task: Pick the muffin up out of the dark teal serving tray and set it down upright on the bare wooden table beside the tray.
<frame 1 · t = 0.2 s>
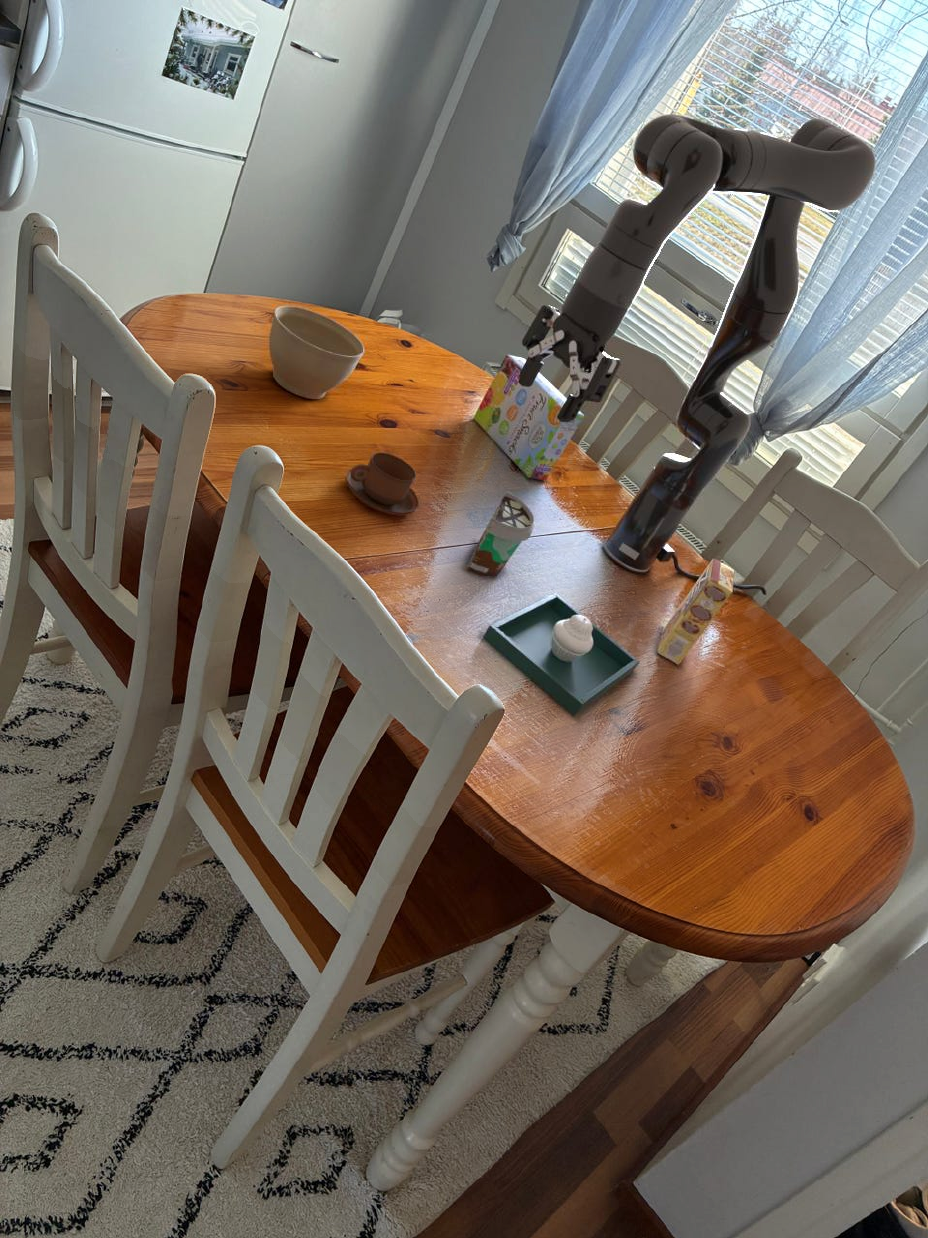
hand: (542, 402, 125), 29 cm above the table, tool pointing down, fingers open, 8 cm apart
candy box: (668, 647, 152), on the table
cup and saucer: (378, 499, 147), on the table
muffin: (560, 655, 135), resting on tray
snack box: (508, 449, 187), on the table
food container: (489, 566, 146), on the table
planter bowl: (298, 386, 166), on the table
tray: (560, 655, 135), on the table
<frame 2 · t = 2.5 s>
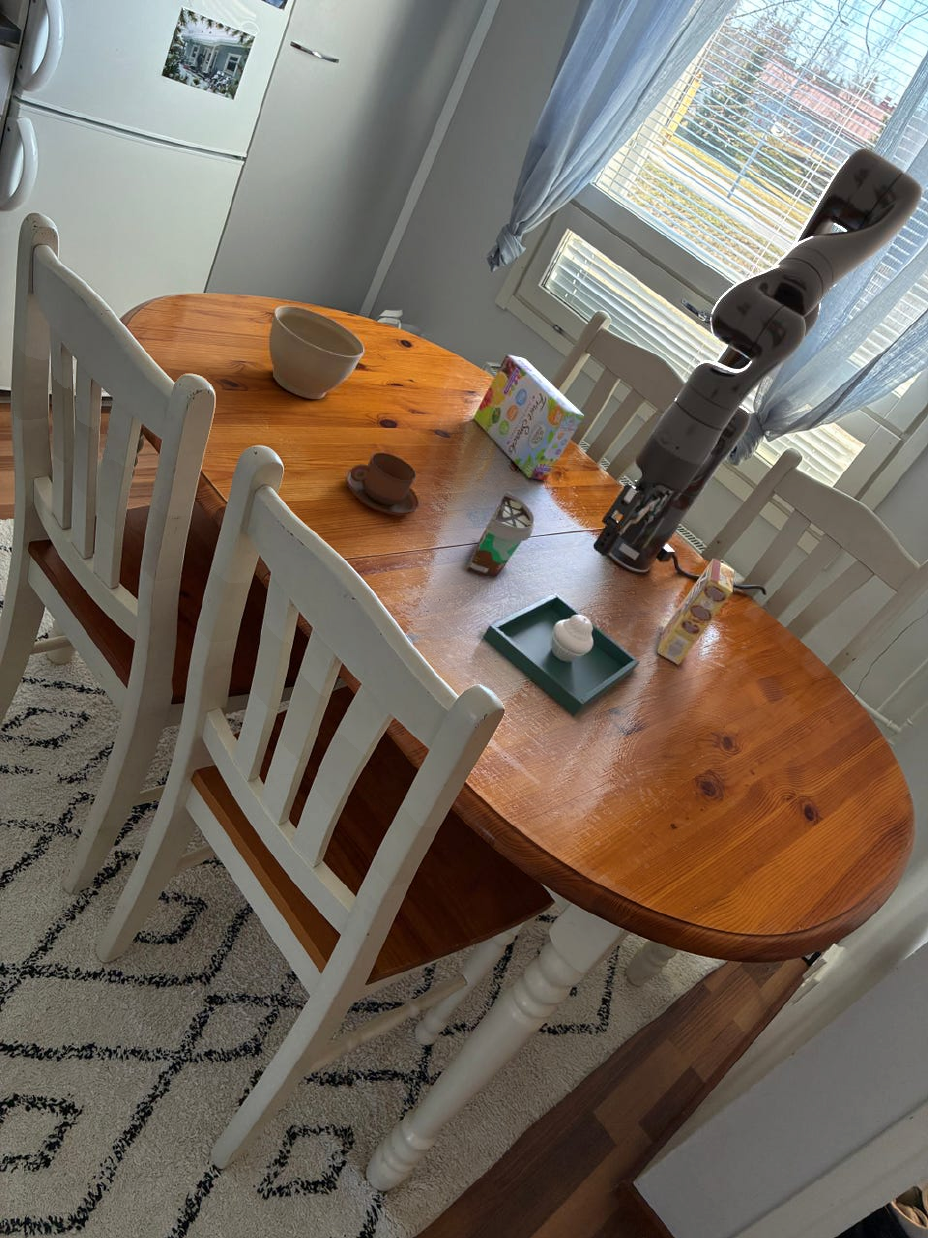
hand: (613, 545, 126), 18 cm above the table, tool pointing down, fingers open, 8 cm apart
nothing on the table moved.
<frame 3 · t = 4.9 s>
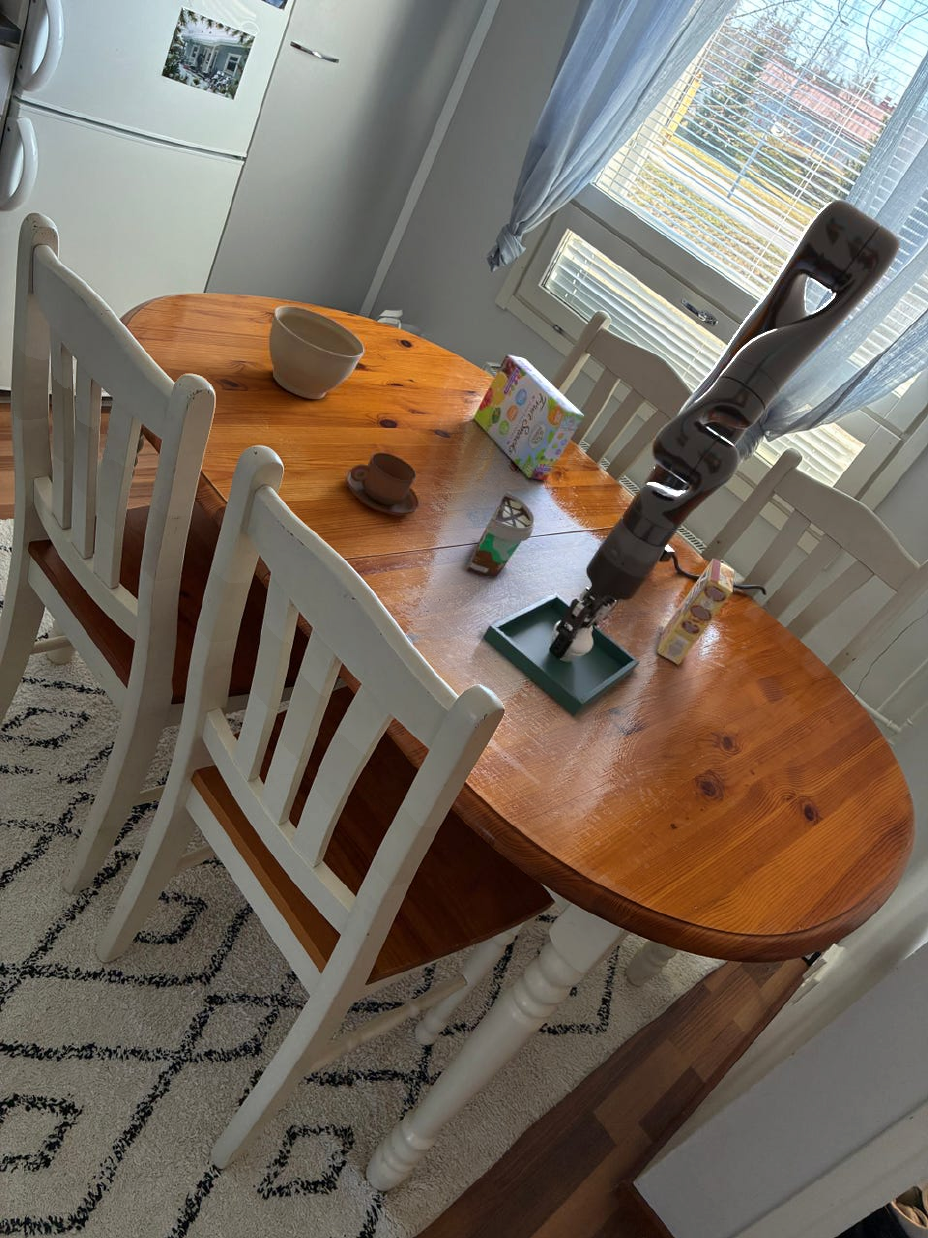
hand: (565, 647, 134), 2 cm above the table, tool pointing down, fingers closed on muffin, 6 cm apart
muffin: (560, 655, 135), resting on tray, touching gripper
everything else where it was.
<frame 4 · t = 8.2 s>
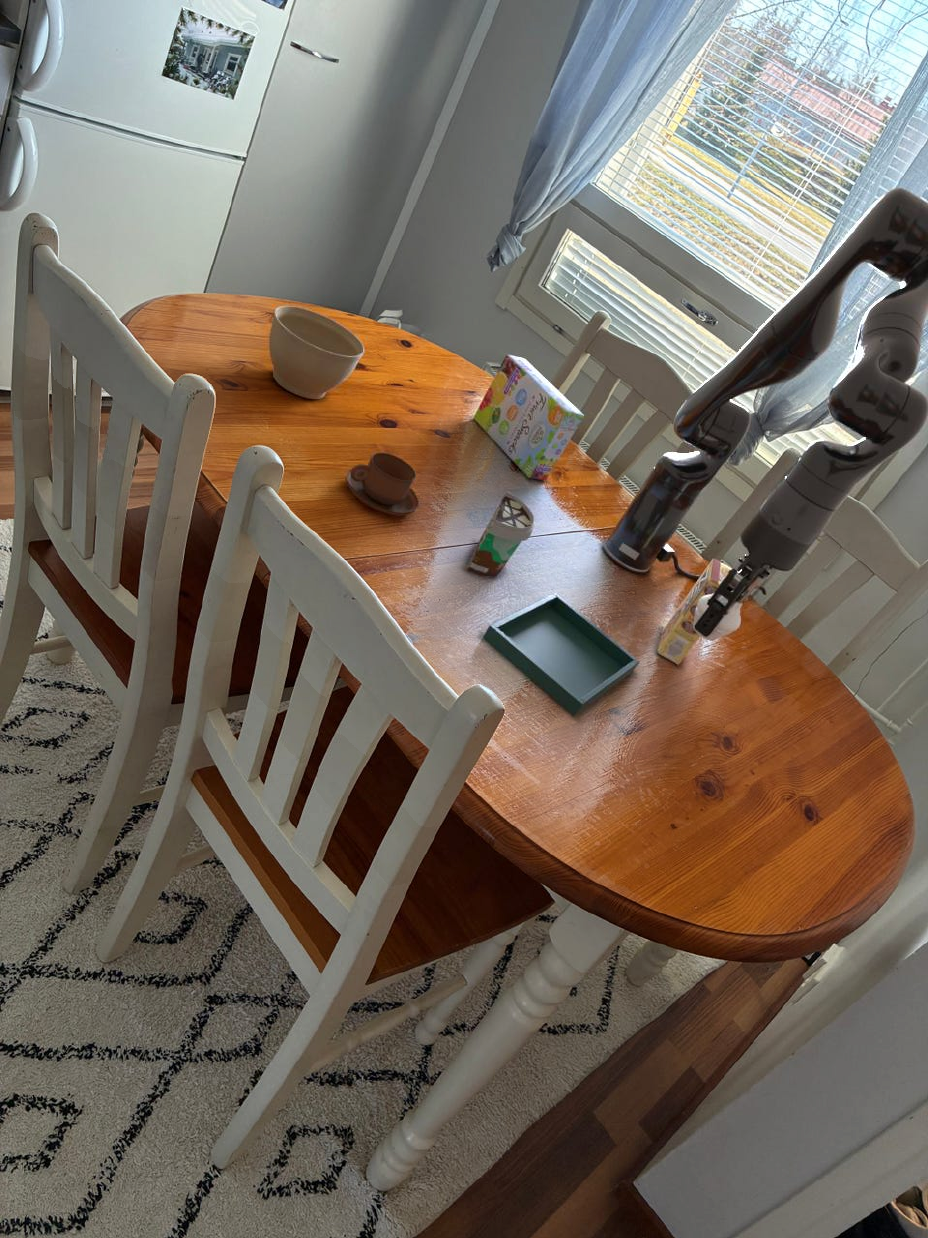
hand: (709, 625, 122), 18 cm above the table, tool pointing down, fingers closed on muffin, 6 cm apart
muffin: (702, 633, 123), point 16 cm above the table, touching gripper
everything else where it was.
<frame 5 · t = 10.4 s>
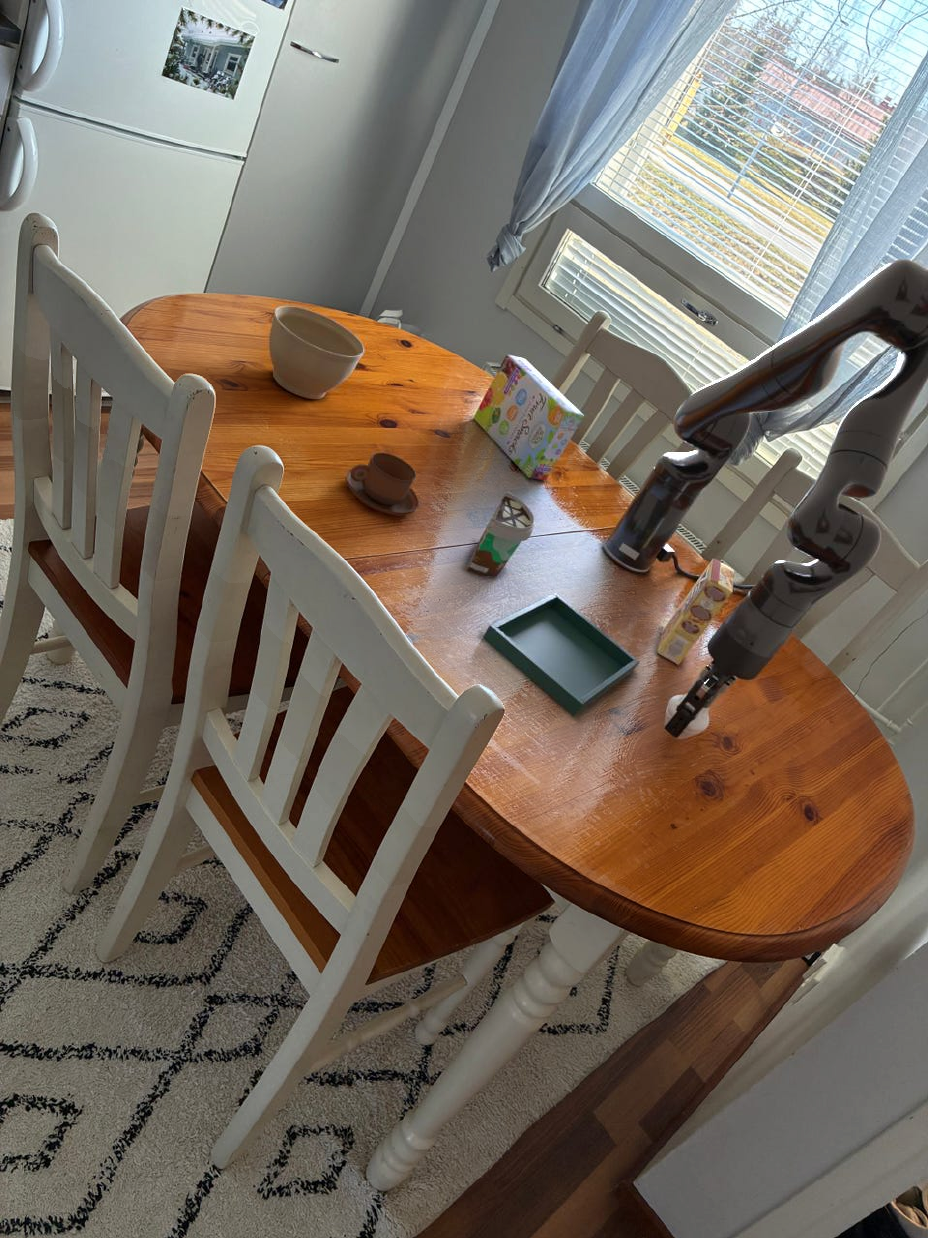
hand: (679, 724, 129), 3 cm above the table, tool pointing down, fingers closed on muffin, 6 cm apart
muffin: (673, 731, 130), point 2 cm above the table, touching gripper
everything else where it was.
when the fingers open (1 cm above the table, at t = 11.6 s): muffin stays where it is, on the table.
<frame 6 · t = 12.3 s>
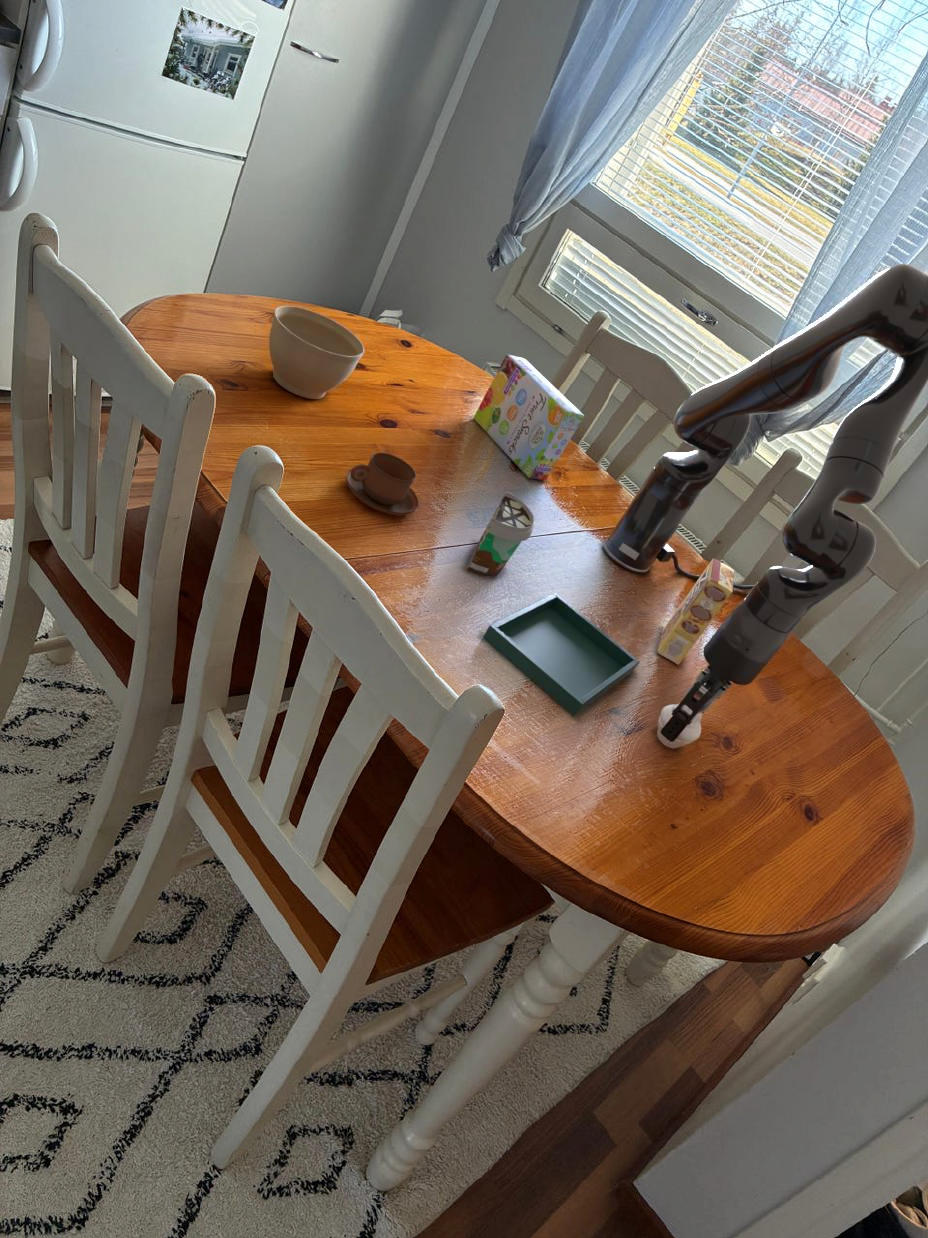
hand: (677, 726, 129), 3 cm above the table, tool pointing down, fingers open, 8 cm apart
muffin: (666, 741, 131), on the table
everything else where it was.
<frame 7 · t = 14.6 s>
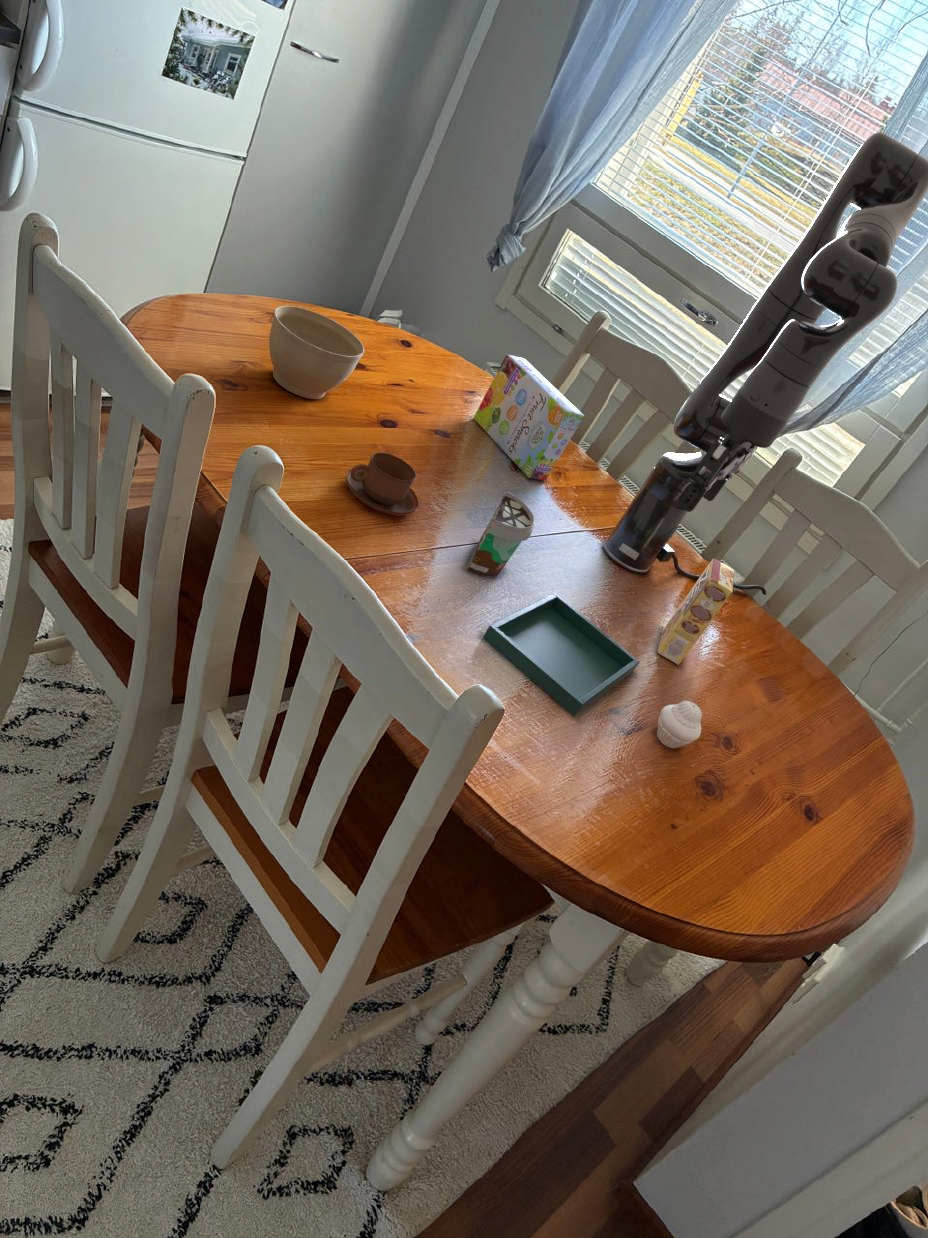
hand: (695, 502, 129), 26 cm above the table, tool pointing down, fingers open, 8 cm apart
nothing on the table moved.
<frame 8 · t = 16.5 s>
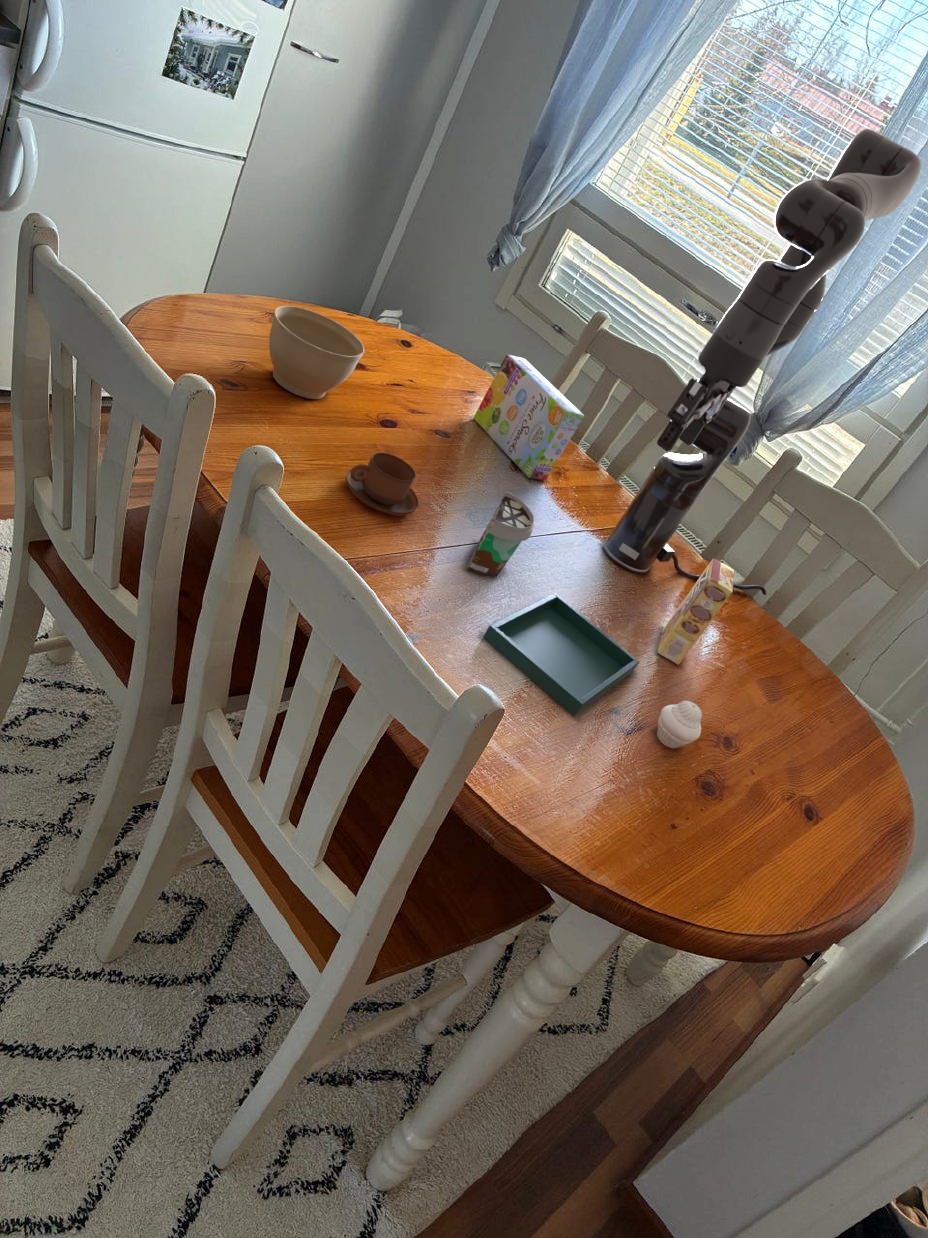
hand: (673, 444, 133), 30 cm above the table, tool pointing down, fingers open, 8 cm apart
nothing on the table moved.
at the end: muffin inside the target area (0.5 cm from its centre), on the table; muffin touching table; muffin tilted 0° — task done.
